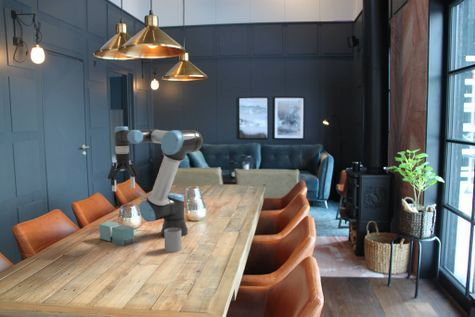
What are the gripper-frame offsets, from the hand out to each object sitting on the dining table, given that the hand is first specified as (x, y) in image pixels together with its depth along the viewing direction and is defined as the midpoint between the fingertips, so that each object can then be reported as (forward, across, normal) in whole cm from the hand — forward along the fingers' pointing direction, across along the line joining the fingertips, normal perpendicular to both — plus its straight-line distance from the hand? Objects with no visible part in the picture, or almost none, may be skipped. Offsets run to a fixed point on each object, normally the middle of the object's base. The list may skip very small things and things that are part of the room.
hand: (123, 189), depth 234 cm
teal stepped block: (+24, +17, +13) cm, 32 cm away
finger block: (+24, +16, +7) cm, 30 cm away
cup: (+25, +11, +48) cm, 55 cm away
